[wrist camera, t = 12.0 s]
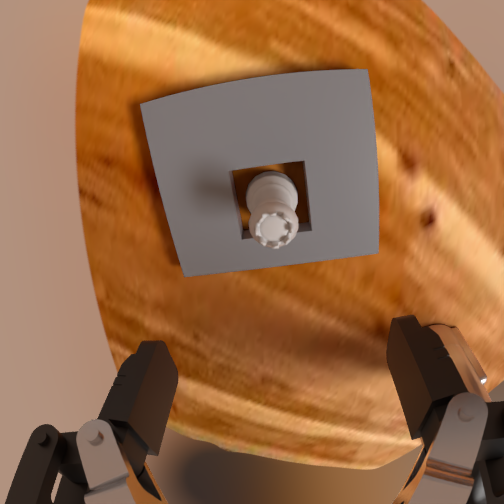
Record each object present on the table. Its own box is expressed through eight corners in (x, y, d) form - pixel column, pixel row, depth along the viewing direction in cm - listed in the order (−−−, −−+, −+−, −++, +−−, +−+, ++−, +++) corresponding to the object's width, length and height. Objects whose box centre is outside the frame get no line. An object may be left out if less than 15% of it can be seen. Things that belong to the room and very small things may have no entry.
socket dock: (360, 71, 20) (367, 69, 19) (372, 243, 28) (378, 253, 26) (148, 103, 23) (139, 104, 21) (189, 266, 30) (184, 277, 28)
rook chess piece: (307, 199, 26) (323, 236, 19) (267, 228, 27) (268, 274, 20) (275, 159, 25) (280, 182, 17) (235, 191, 26) (223, 226, 19)
